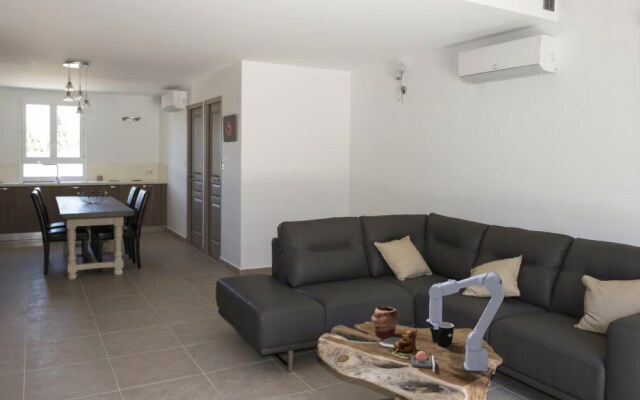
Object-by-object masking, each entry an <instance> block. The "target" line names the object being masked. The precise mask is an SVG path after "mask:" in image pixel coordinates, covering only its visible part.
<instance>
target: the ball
mask: <svg viewBox="0 0 640 400" xmlns="http://www.w3.org/2000/svg"><path fill="white" fill-rule="evenodd" d="M427 357H428V355H427V354H426V352H425V351H422V350H421V351H419V352H418V353H417V354H416V359H417V361H418V362H421V363H423V362H425V361H426V360H427Z"/></svg>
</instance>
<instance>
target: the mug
mask: <svg viewBox="0 0 640 400" xmlns="http://www.w3.org/2000/svg"><path fill="white" fill-rule="evenodd" d="M439 328H442V332H441V333H440V336H439V341H438V343H436V344H437V345H438V346H439V347H446V348H447V347H451V345H452V344H453V343H452V342H453V339H454V333H455V332H454V331H455V325H454V324H453V323H450V322H446V321H442V323H441V324H440V326H439Z"/></svg>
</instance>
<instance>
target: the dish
mask: <svg viewBox="0 0 640 400" xmlns="http://www.w3.org/2000/svg"><path fill="white" fill-rule="evenodd" d="M411 367H414V368H426V369H427V368H429V369H431V368H432V356H431V357H430V356H427V360H426V361H425V362H423V363H421V362H418V361H417V359H416V356H412V359H411Z"/></svg>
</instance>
